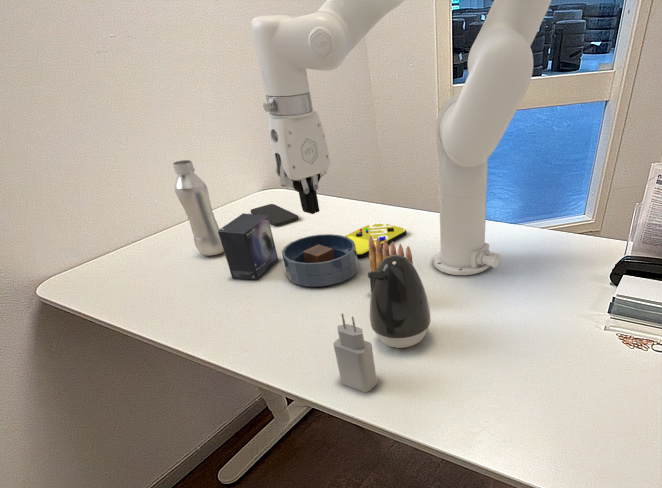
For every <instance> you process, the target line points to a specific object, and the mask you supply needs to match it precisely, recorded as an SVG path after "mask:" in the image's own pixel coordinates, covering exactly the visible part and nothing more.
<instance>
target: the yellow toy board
mask: <svg viewBox="0 0 662 488" xmlns="http://www.w3.org/2000/svg"><path fill="white" fill-rule="evenodd" d="M344 236H345V237H348V238H350V239H351V240H353V241H354V243H355V245H356V252H357V259H361V260H362V259H365V258H367V257H369V237H370V236H372V238H373V241H374V244H375V250H376V240H377V238H379V240H380V242H381V246H382V249H383V243H384V240H386V241H387V244H388V246H389V245H391V243H392V242H393V243H395V242H396V241H399V240H400V239H402V238H403V237H406V236H407V229H406V228H405V227H401V226H396V225H393V224H390V223H385V222H374V223H370V224H367V225H365V226H362V227H361V228H359V229H356V230H354V231H351V232H350V233H348V234H345V235H344Z"/></svg>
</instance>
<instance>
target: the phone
mask: <svg viewBox="0 0 662 488" xmlns="http://www.w3.org/2000/svg"><path fill="white" fill-rule="evenodd" d="M250 214H255V215H268V219H269V223H270V225H273V226H275V227H278V226H282V225H285V224H289V223H292V222H294V221H299V215H298V214H296V213H294V212H292V211H290V210H287V209H285V208H283V207H281V206H279V205H278V204H277V205H276V204H274V203H269V204H265V205H261V206H258V207H255V208H252V209H250Z"/></svg>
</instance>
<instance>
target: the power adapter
mask: <svg viewBox="0 0 662 488" xmlns="http://www.w3.org/2000/svg"><path fill="white" fill-rule="evenodd" d="M341 321H342V324H339V325H337V334H338V339H336V340H335V341H334V342H333V344H332V345H333V349H334V354H335V359H336V363H337V368H338V373H339V377H340V383H341V384H342V385H344V386H347V387H349V388H352V389H354V390H358V391H360V392H363V393H368V392H370V391H371V390H372V389H373V388H374V387H376V386H377V384H378V379H377V371H376V365H375V358H374V352H373V345H372V342H370V341H368V340H365V338H364V333H363V329H362V328H361V327H358V326H356V323H355V317H354V316H351V321H352V324H348V323H346V321H345V316H344V313H341Z"/></svg>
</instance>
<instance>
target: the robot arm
mask: <svg viewBox="0 0 662 488" xmlns="http://www.w3.org/2000/svg"><path fill="white" fill-rule="evenodd" d="M404 1H405V0H325V2H324V3H322V5H321V6H320V7H319V9H317V11H315V12H313V13H308V14H304V15H300V16H291V15H287V14H272V15H270V14H267V15H258V16H256V17H254V18H252V20H251V23H250V31H251V36H252V40H253V46H254V48H255V53H256V59H257V63H258V67H259V71H260V76H261V80H262V81H261V82H262V84H263V89H264V94H265V98H266V99H265V100H266V102H264V103H263V105H262V107H263V109H264V111H265V112H266V113H269V117H267V118H268V119H267V120H268V121H267V123H268V125H267V127H268V137H269V144H270V152H271V155H272V156H271V157H272V161H273V167H274V170H275V173H276V174H277V176H278V177H279V184H280V186H281V187H282V188H283V187H284V188H292V189H294V191H295V192H297V193H298V197H299V201H300V205H301V209H302V211H303V212H304V213H306V214H311V215H315V214H316V213H319V212H320V205H319V200H318V194H317V191H319V182H320V180H321V178H323V177H324V176H325V175H327V173H328V170H329V169H330V168H331V159H330V153H329V148H328V144H327V140H326V135H325V132H324V128H323V125H322V122H321V119H320V117H319V114H318V111H316V110H314V108H313V101H312V95H311V91H310V90H311V89H310V84H309V78H308V73H307V70H315V71H323V72H325V71H332V70H335V69H337V68H338V67H340V66H341V65H342V63H343V62H344V60H345V59H346V57H347V56H348V55H349V54H350V53H351V52H352V50H353V49H355V47H356V46H357V45H358V44H359V42H361V41H362V39H363V38H365V36H366V35H367V34H368V33H369V32H370V31H371V30H372V29H373V28H374V27H375V26H376V25H377V23H379V22H380V21H381V20H382V19H383V18H384V17H385V16H386V15H388V14H389V13H390V12H392V11H393V10H394V9H396V8H398V7H399V6H400V5H401V4H402V3H403V2H404ZM551 3H552V0H493V2H492V4H491V7H490V8H489V10H488V13H487V15H486V18H485V19H484V21H483V23H482V26H481V27H480V30H479V32H478V34H477V36H476V38H475V39H474V42H473V43H472V45H471V47H470V50H469V53H468V58H467V72H468V75H467V77H466V80H465V82H464V84H463V86H462V88H461V90H460V92H459V94H456V95H453V96H451V97H449V98H448V99H447V100H446V101H445V102H444V103H443V104H442V106H441V108H440V109H439V112H438V115H437V118H436V127H435V130H436V132H435V133H436V147H437V162H438V163H437V165H438V195H439V196H438V198H439V199H438V202H439V235H440V236H439V237H440V238H439V239H440V251H439V252H437V254H435V256H434V257H433V265H434V267H435V268H436V269H437V270H438V271H440V272H442V273H445V274H446V275H447V274H448V275H452V276H472V275H477V274H481V273H482V272H484V271H486V270H487V269H489V268H490V267H492V268H497V267H498V266H499V262H500V254H499V253H497V252H493V251H492V252H491V250H490V243H488V242H486V222H487V221H486V219H487V191H488V159H489V158H490V157H491V156H492V155H493V153H494V151H495V150H496V148H497V147H498V146H499V143H500V142H501V141H502V138H503V137H504V134H505V133H506V131H507V129H508V127H509V125H510V123H511V122H512V120H513V118H514V116H515V114H516V112H517V110H518V108H519V106H520V104H522V101H523V99H524V97H525V95H526V93H527V91H528V89H529V86H530V84H531V81H532V77H533V72H534V55H533V51H532V48H531V46H532V44H533V42H534V40H535V38H536V36H537V34H538V32H539V29H540V27H541V26H542V22H543V21H544V18H545V17H546V14H547V13H548V10H549V8H550V5H551Z"/></svg>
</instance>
